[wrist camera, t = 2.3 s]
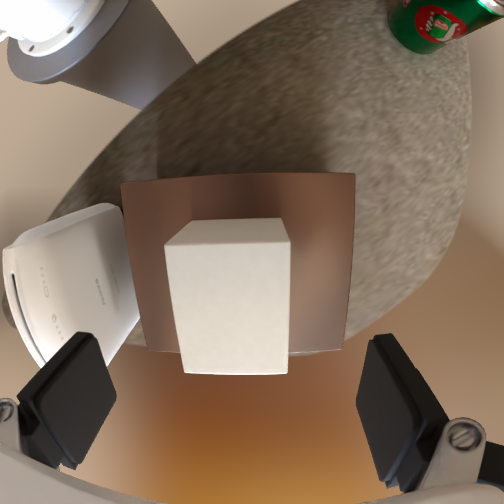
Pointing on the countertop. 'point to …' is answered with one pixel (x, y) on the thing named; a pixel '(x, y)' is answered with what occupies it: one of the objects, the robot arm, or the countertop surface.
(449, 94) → the countertop surface
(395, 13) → the soda can
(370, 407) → the robot arm
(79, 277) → the photo printer
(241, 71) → the countertop surface
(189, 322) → the white box
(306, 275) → the storage box
